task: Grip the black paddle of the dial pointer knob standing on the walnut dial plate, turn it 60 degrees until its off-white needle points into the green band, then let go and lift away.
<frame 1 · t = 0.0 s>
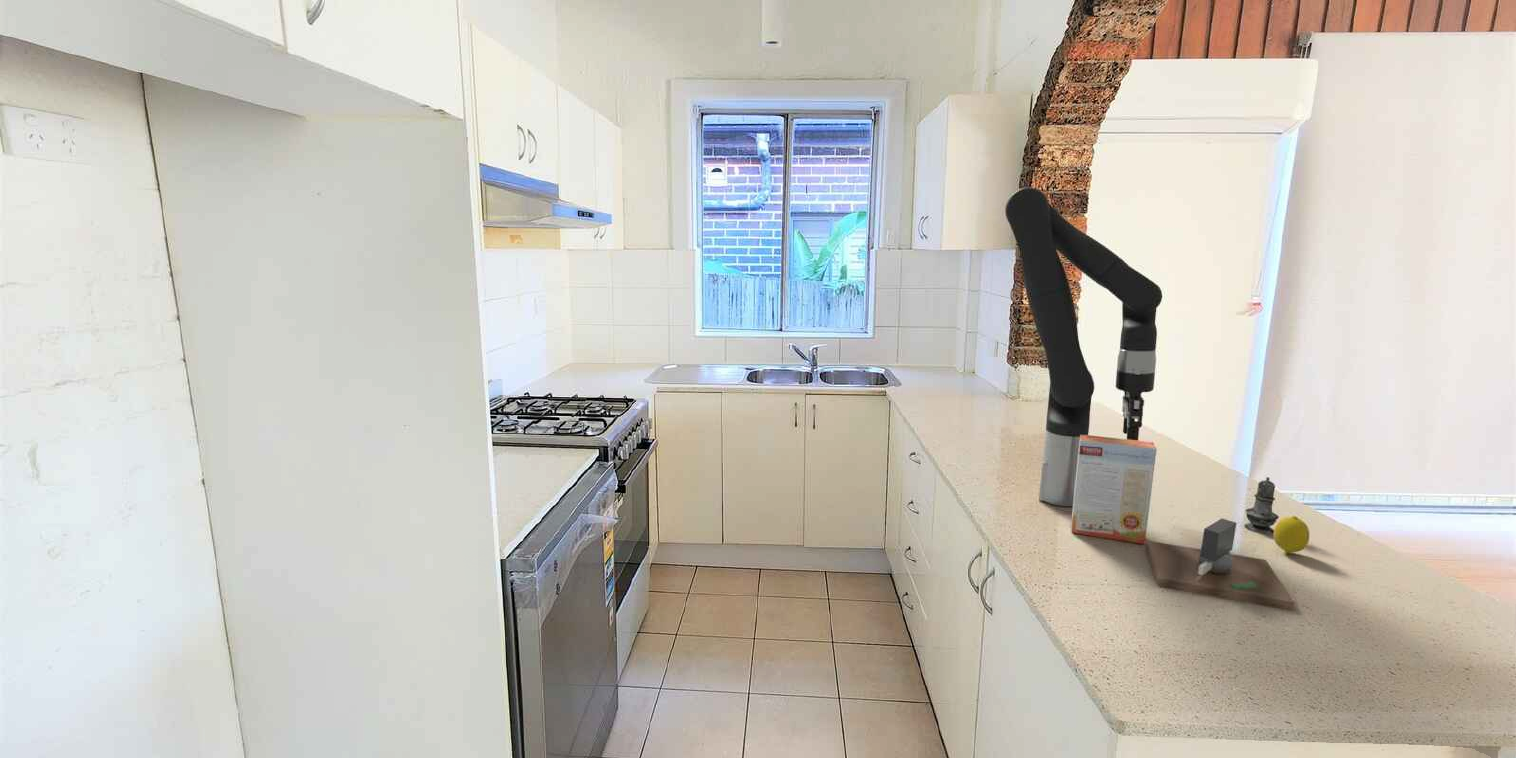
hand: (1130, 438, 152), 17 cm above the worktop, tool pointing down, fingers open, 8 cm apart
dial pointer knob: (1214, 548, 122), point 6 cm above the worktop, hinge at 0.0°
lemon: (1287, 554, 133), on the worktop
dial plate: (1212, 576, 124), on the worktop
cracker box: (1106, 534, 142), on the worktop
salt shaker: (1259, 529, 145), on the worktop
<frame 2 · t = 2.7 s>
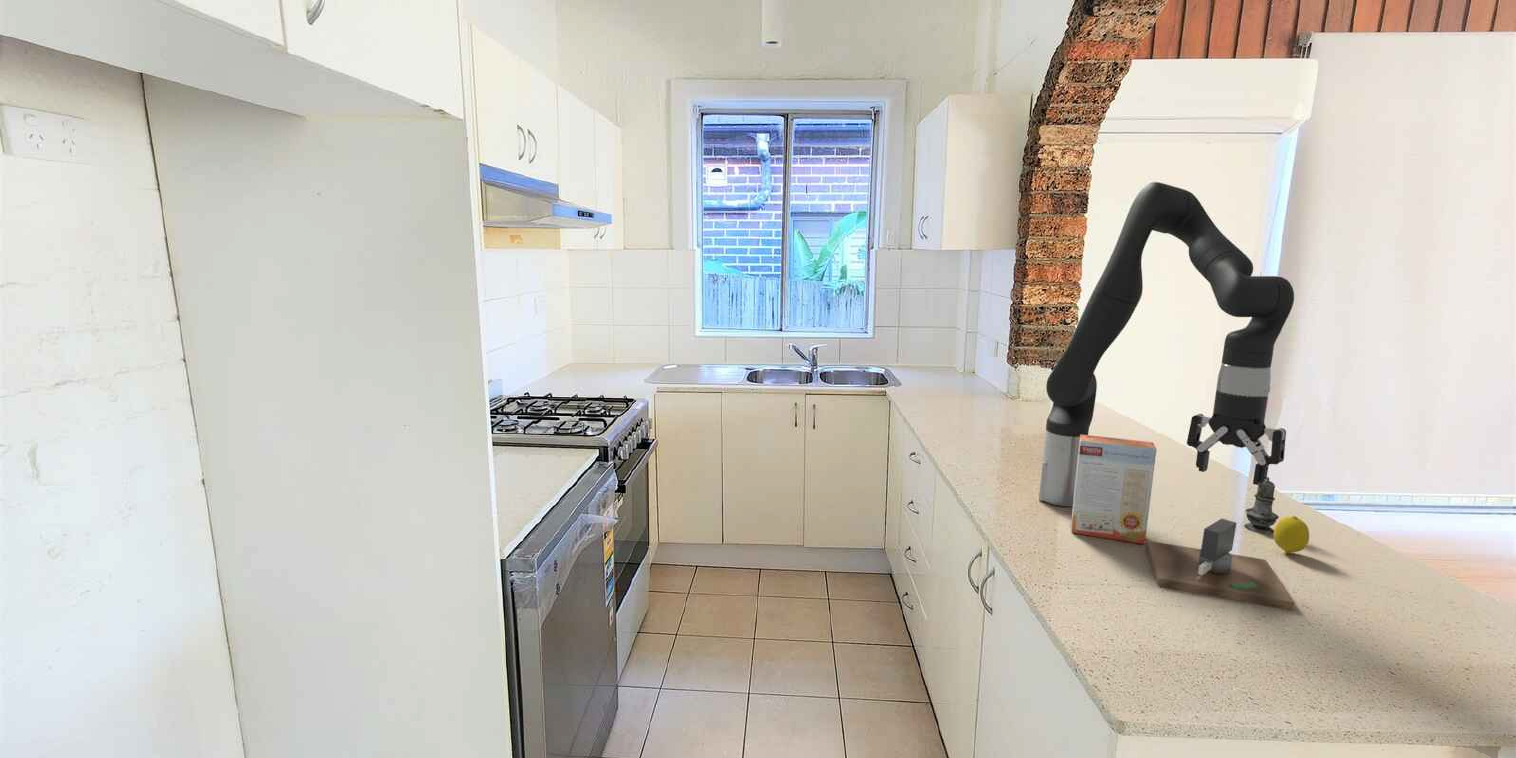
hand: (1229, 477, 120), 20 cm above the worktop, tool pointing down, fingers open, 8 cm apart
nothing on the worktop moved.
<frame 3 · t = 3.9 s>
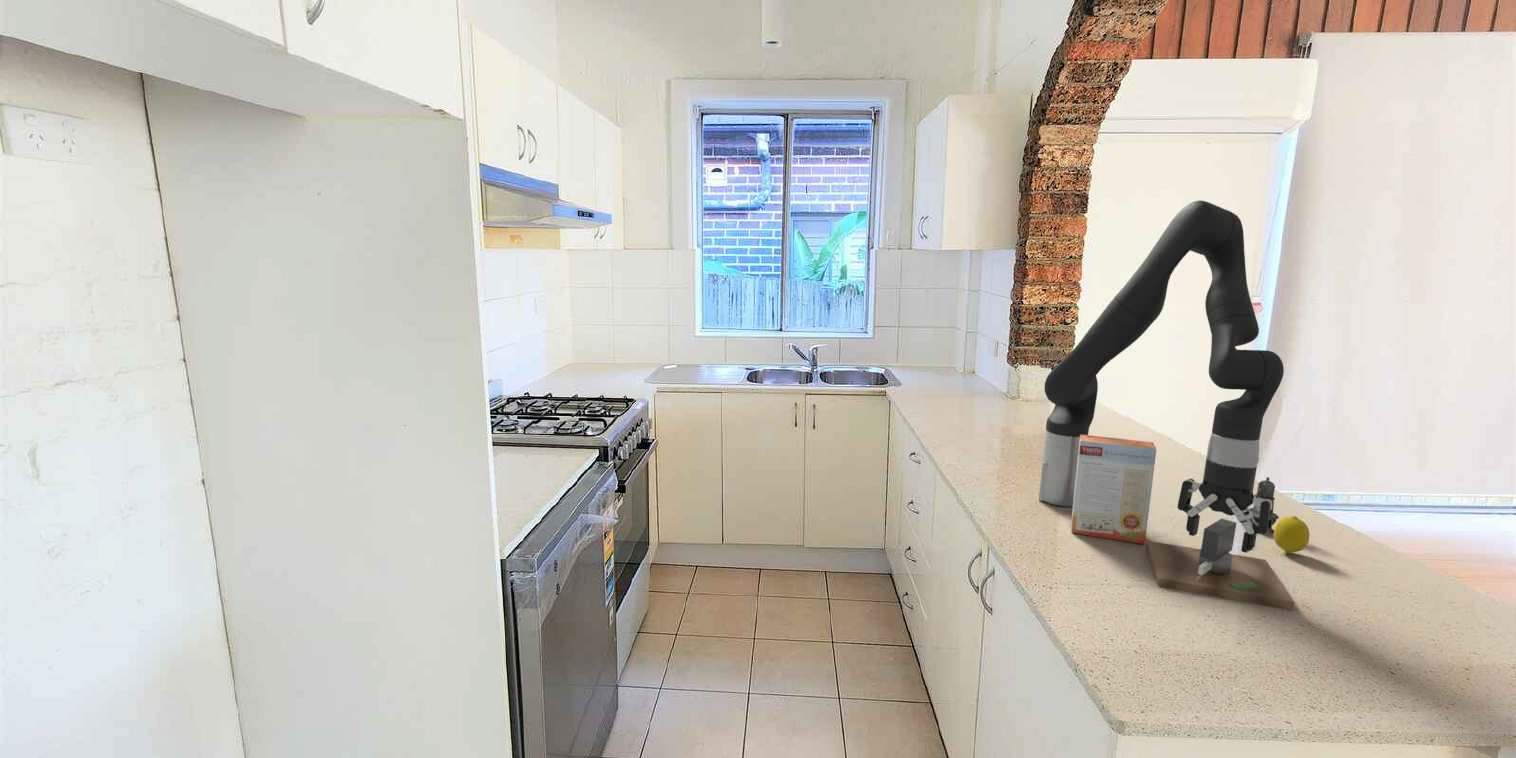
hand: (1218, 542, 122), 7 cm above the worktop, tool pointing down, fingers open, 8 cm apart
nothing on the worktop moved.
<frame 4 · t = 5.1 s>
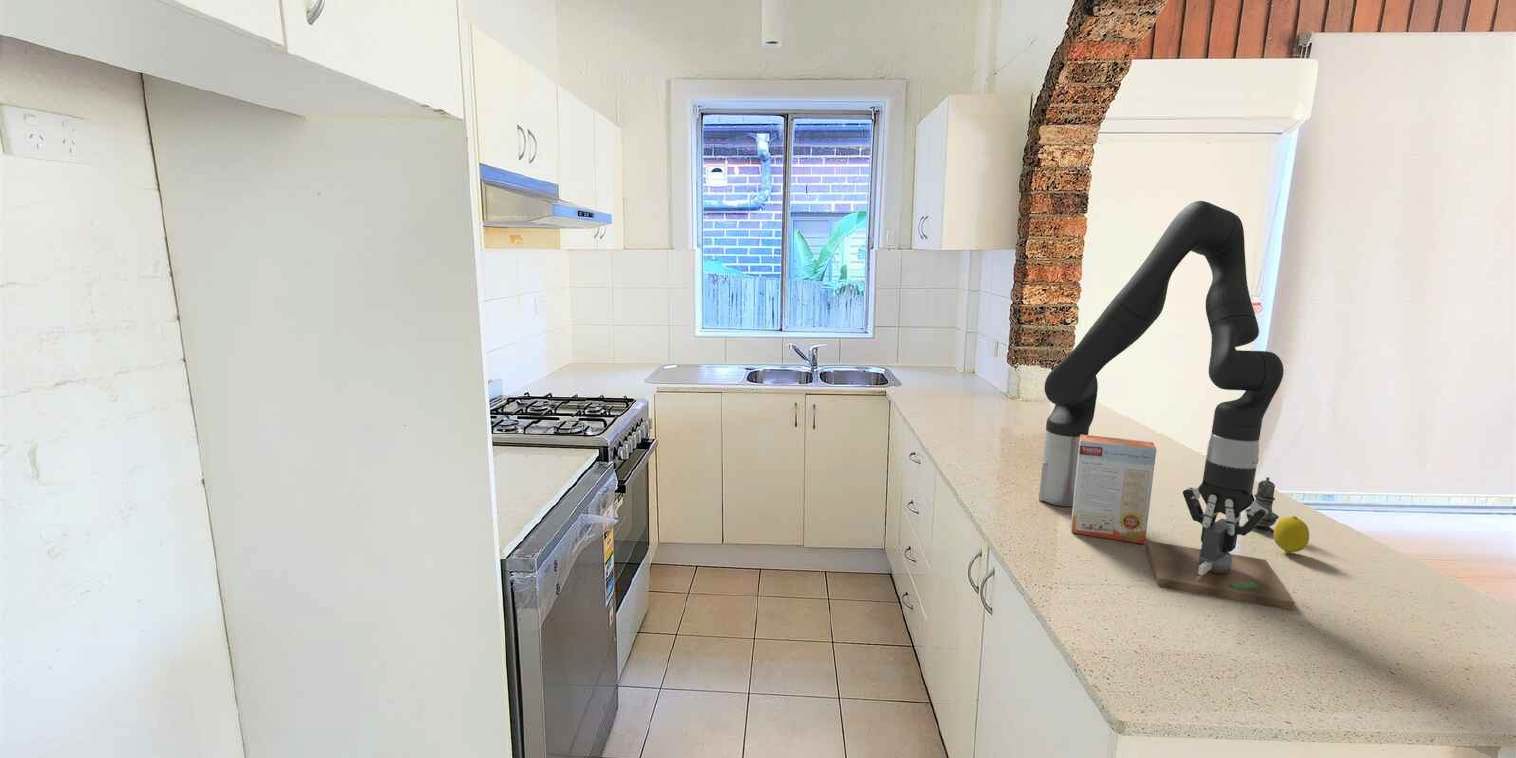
hand: (1217, 548, 123), 6 cm above the worktop, tool pointing down, fingers closed on dial pointer knob, 2 cm apart
dial pointer knob: (1214, 548, 122), point 6 cm above the worktop, hinge at 0.0°, touching gripper
everything else where it was.
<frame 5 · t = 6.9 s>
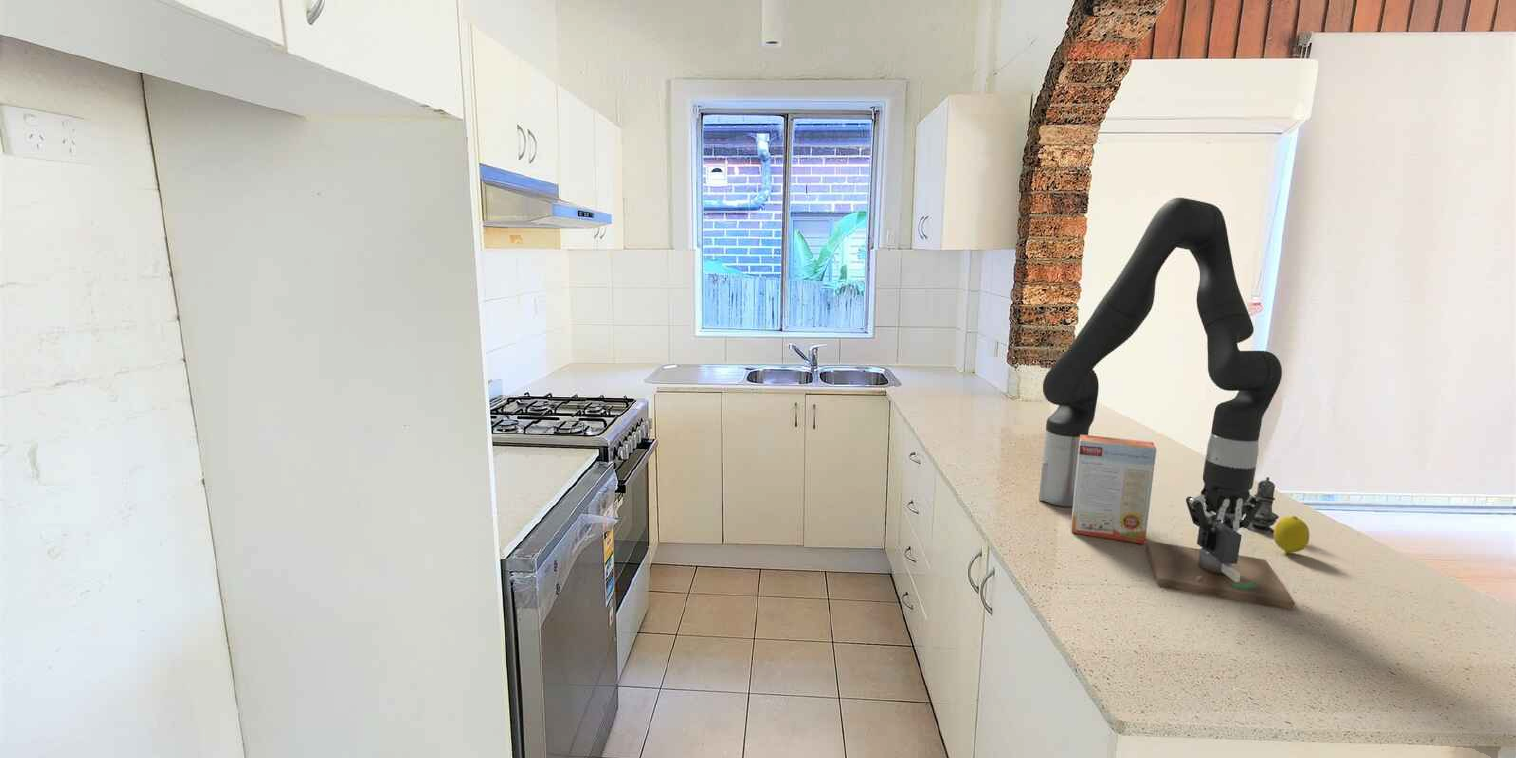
hand: (1216, 547, 123), 6 cm above the worktop, tool pointing down, fingers closed on dial pointer knob, 3 cm apart
dial pointer knob: (1221, 549, 121), point 6 cm above the worktop, hinge at 50.6°, touching gripper
everything else where it was.
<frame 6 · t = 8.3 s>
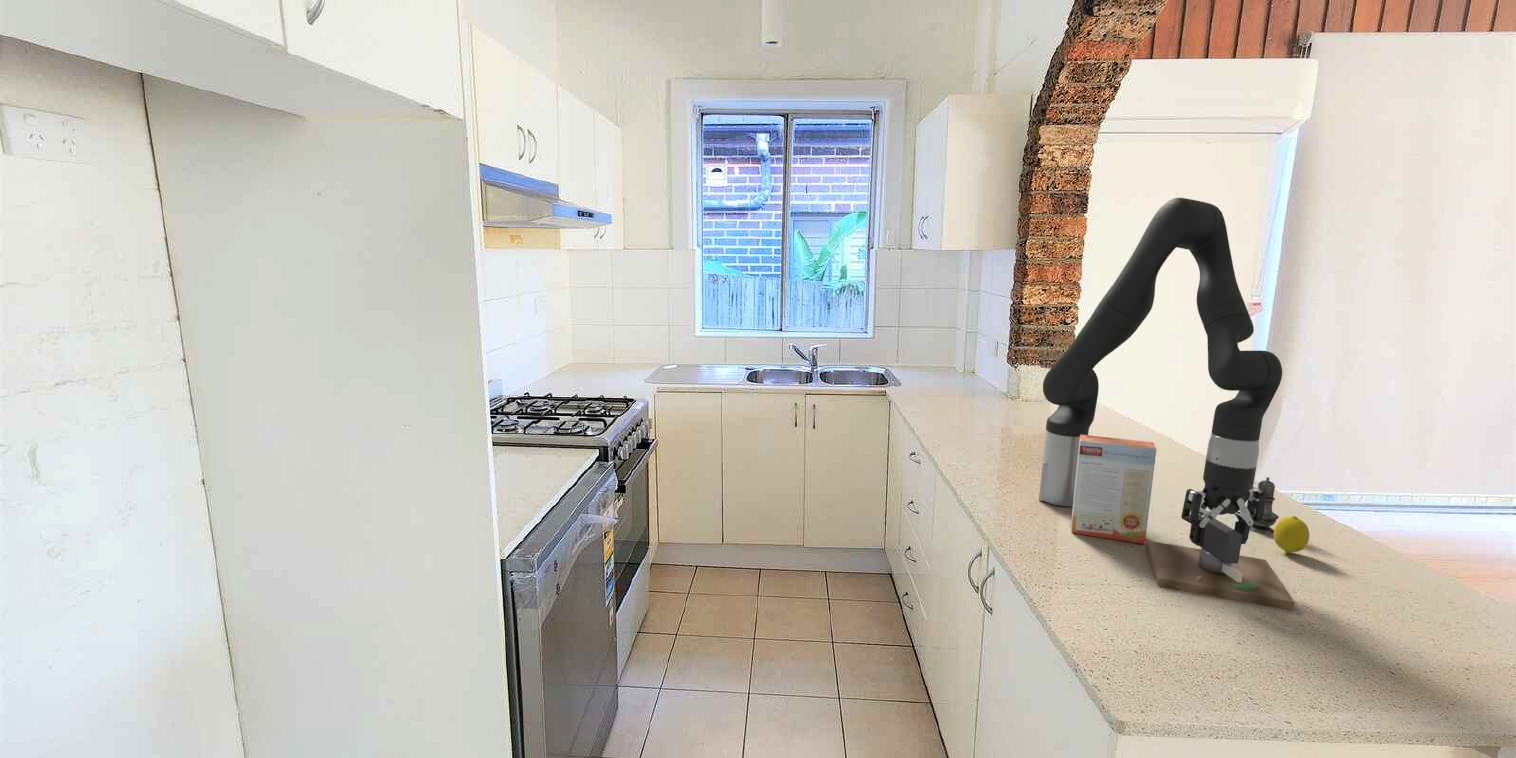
hand: (1217, 543, 122), 7 cm above the worktop, tool pointing down, fingers open, 8 cm apart
dial pointer knob: (1222, 549, 121), point 6 cm above the worktop, hinge at 54.2°
everything else where it was.
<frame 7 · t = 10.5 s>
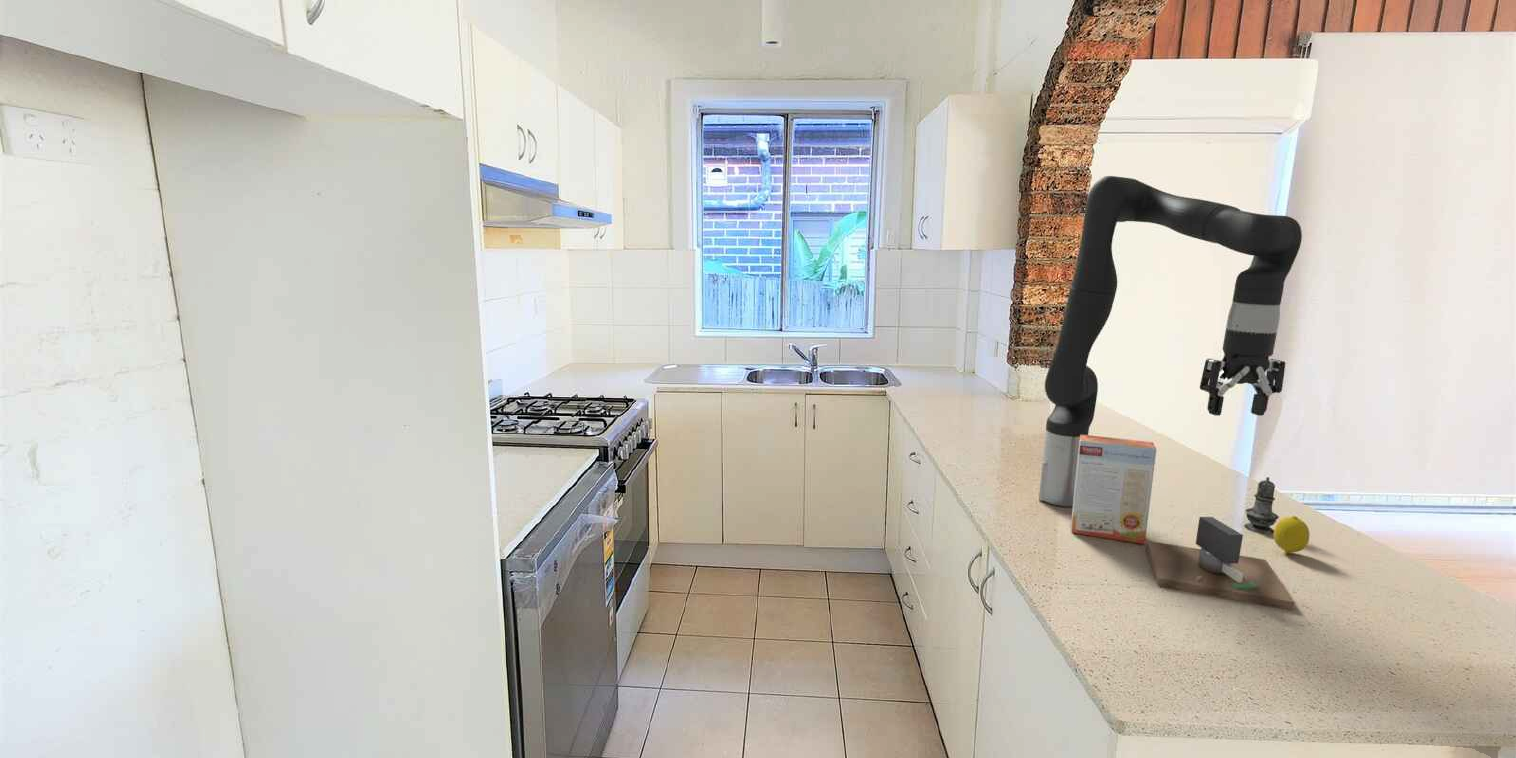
hand: (1235, 414, 123), 30 cm above the worktop, tool pointing down, fingers open, 8 cm apart
dial pointer knob: (1222, 549, 121), point 6 cm above the worktop, hinge at 54.6°
everything else where it was.
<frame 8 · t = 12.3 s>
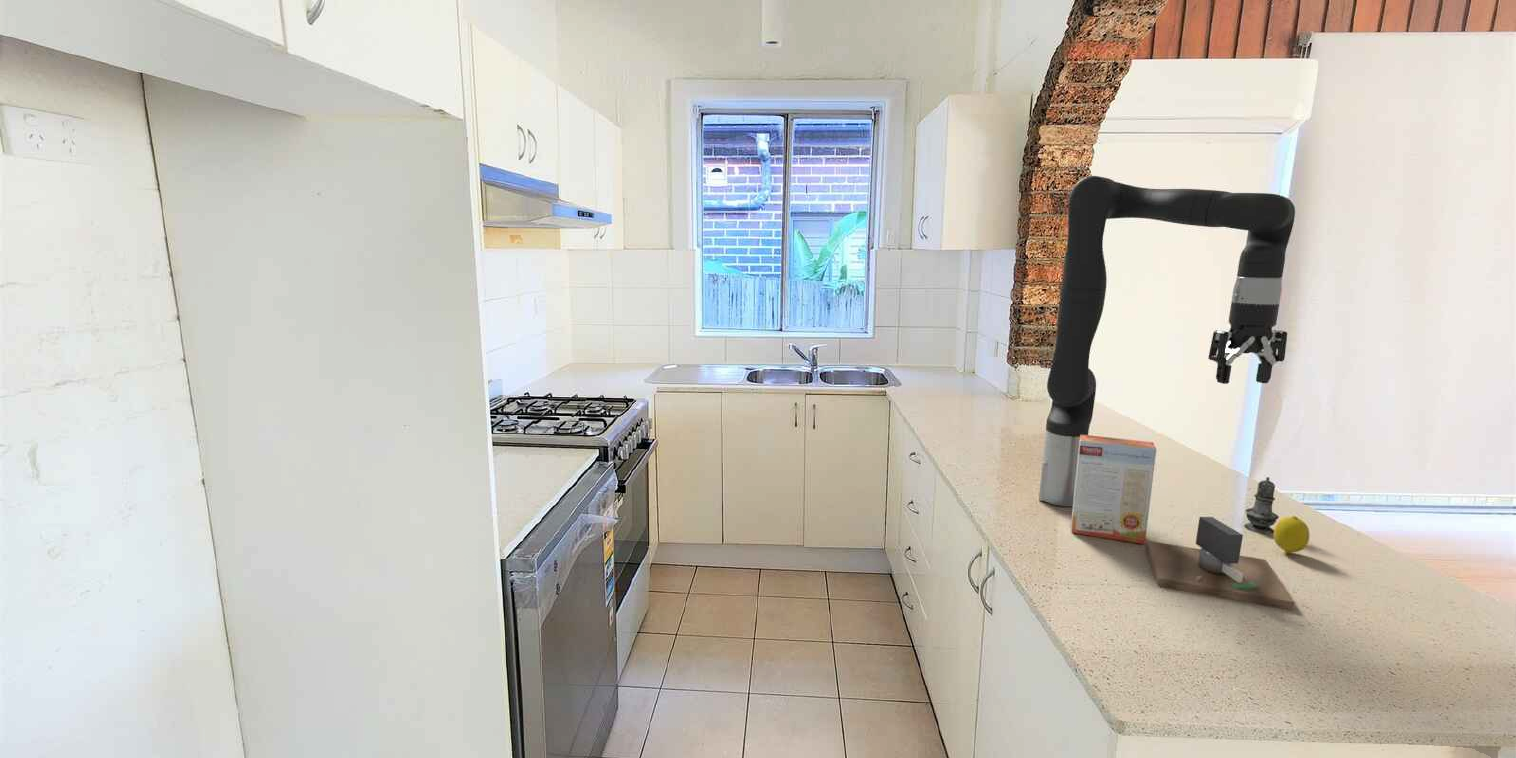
hand: (1242, 382, 131), 34 cm above the worktop, tool pointing down, fingers open, 8 cm apart
nothing on the worktop moved.
at the end: dial pointer knob at +55° (first picture: +0°); the gripper is holding nothing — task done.
